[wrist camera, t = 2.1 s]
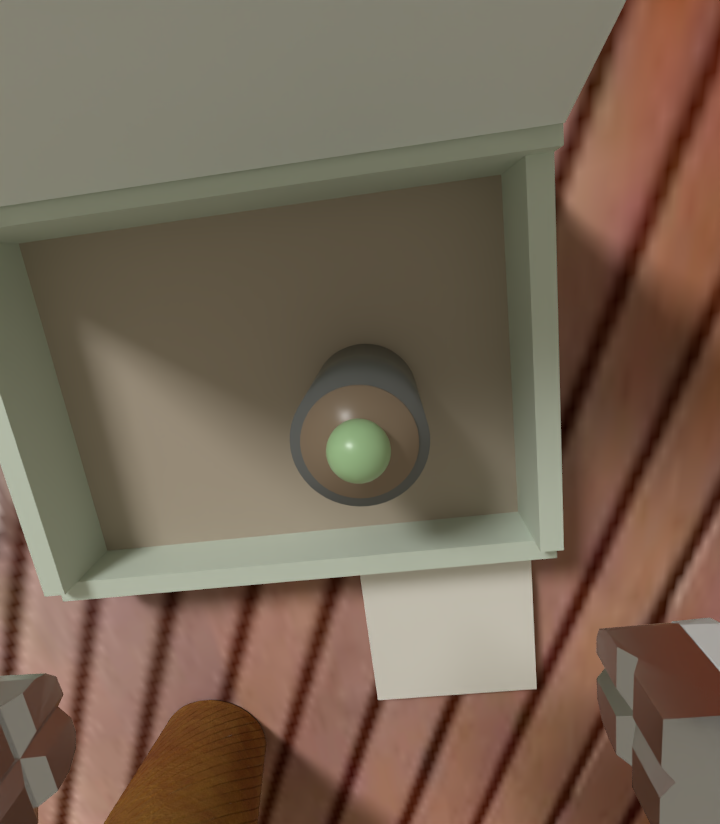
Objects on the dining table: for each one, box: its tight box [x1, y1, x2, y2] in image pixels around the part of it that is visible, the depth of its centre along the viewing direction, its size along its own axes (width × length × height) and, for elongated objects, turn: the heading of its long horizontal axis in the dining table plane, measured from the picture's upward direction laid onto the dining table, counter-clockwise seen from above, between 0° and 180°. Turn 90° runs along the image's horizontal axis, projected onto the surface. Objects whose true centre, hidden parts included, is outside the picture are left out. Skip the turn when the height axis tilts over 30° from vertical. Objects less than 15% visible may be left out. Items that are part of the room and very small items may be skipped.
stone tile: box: [360, 560, 537, 700], centre depth 29 cm, size 9×9×1 cm
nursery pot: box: [290, 344, 430, 507], centre depth 21 cm, size 5×5×9 cm
